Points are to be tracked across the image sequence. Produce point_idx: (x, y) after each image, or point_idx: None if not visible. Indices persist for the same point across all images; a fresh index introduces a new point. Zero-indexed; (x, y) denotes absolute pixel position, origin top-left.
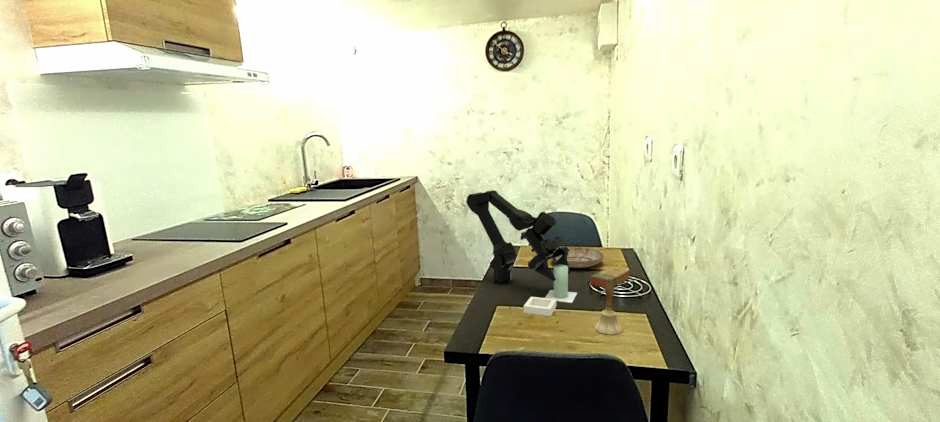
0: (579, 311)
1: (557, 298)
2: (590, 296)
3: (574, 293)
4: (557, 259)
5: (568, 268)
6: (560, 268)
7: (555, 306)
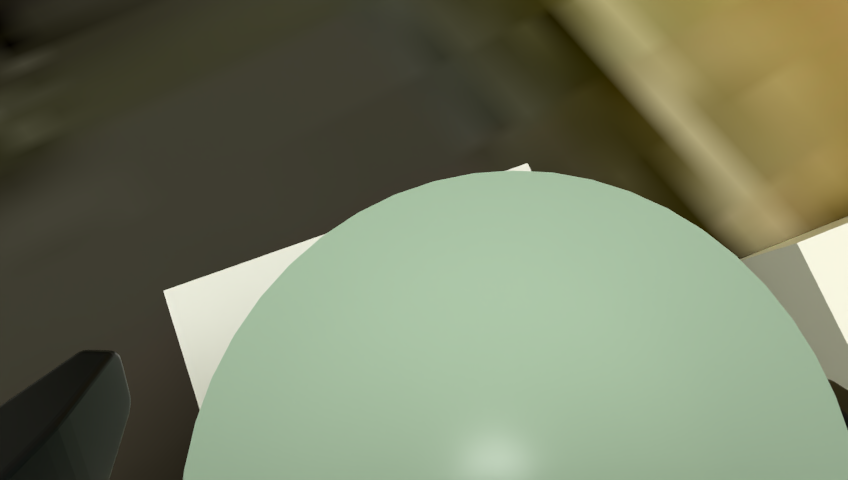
0: (629, 18)
1: None
2: (130, 130)
3: (217, 305)
4: None
5: (4, 447)
6: (770, 351)
7: (792, 240)
